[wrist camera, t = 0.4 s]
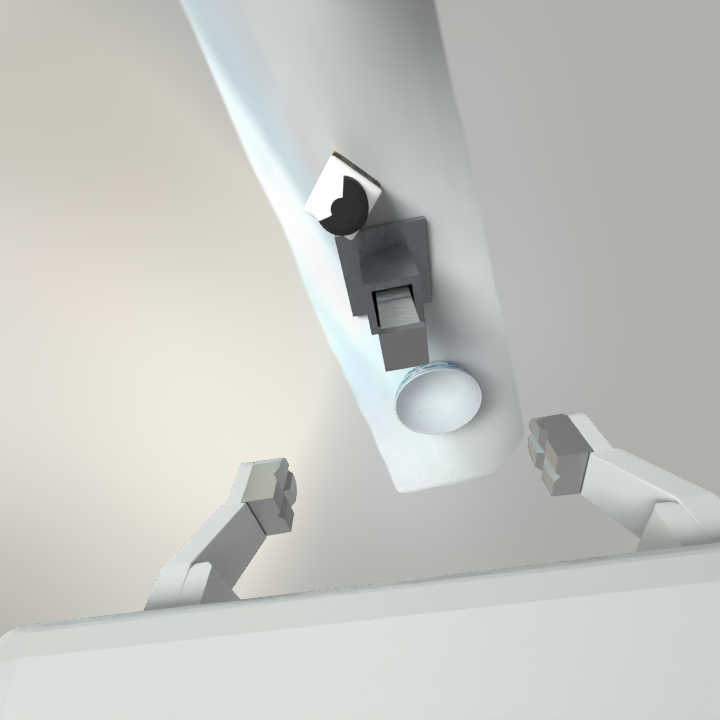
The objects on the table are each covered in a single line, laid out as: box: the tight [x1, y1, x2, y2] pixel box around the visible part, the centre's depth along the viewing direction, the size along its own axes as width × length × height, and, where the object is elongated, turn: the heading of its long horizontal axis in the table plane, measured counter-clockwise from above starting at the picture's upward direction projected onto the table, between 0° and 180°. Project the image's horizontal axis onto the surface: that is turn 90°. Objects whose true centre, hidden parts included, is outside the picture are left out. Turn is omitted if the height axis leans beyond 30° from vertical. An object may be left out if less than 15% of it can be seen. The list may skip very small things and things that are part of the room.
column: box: [376, 285, 429, 372], centre depth 45 cm, size 5×5×22 cm
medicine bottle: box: [304, 151, 382, 240], centre depth 44 cm, size 7×7×12 cm
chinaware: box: [395, 361, 482, 435], centre depth 65 cm, size 15×15×8 cm
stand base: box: [335, 216, 432, 335], centre depth 50 cm, size 13×13×14 cm
